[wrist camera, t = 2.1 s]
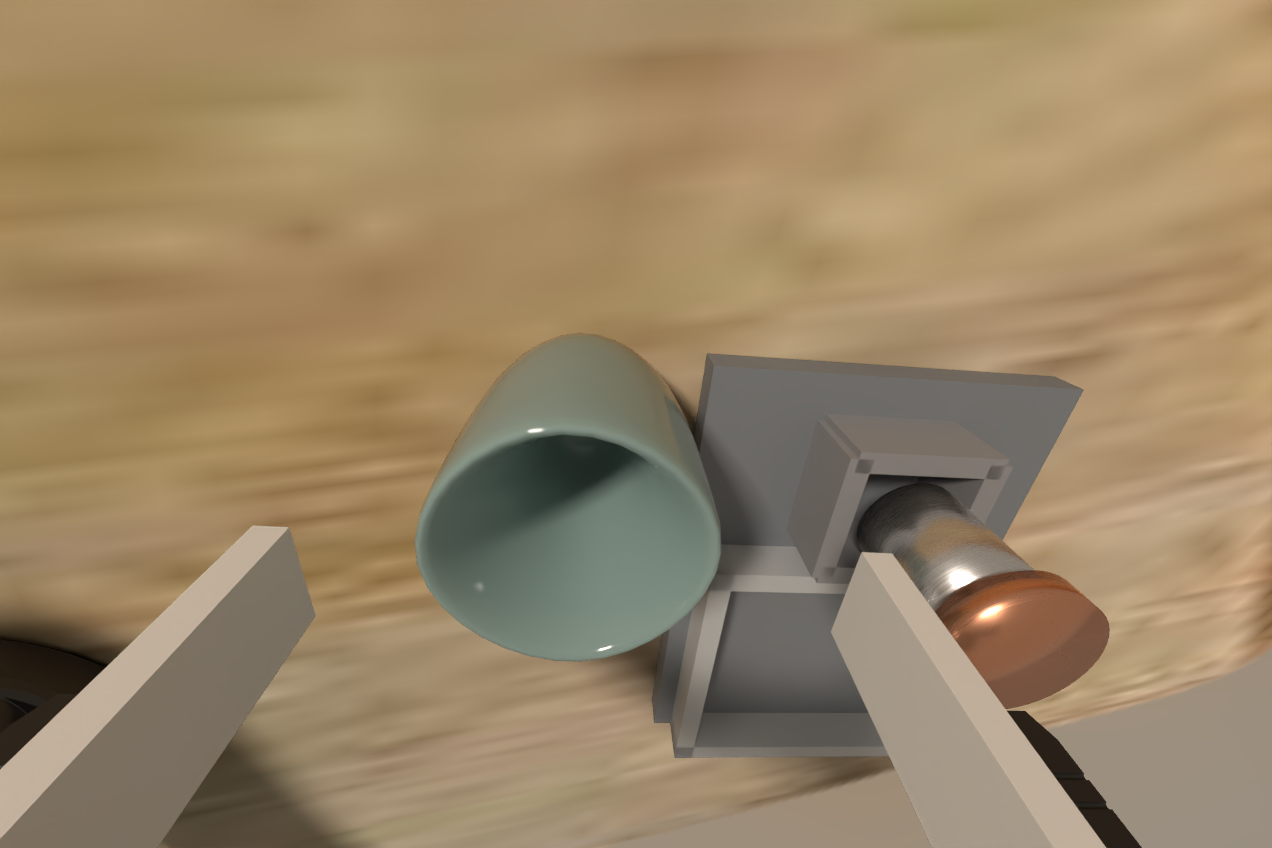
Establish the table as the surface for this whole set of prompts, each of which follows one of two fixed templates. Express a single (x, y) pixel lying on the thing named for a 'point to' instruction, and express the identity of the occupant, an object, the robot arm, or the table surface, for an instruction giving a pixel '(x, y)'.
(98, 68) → the table surface
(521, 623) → the cup
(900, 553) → the plunger
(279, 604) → the robot arm
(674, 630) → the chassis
